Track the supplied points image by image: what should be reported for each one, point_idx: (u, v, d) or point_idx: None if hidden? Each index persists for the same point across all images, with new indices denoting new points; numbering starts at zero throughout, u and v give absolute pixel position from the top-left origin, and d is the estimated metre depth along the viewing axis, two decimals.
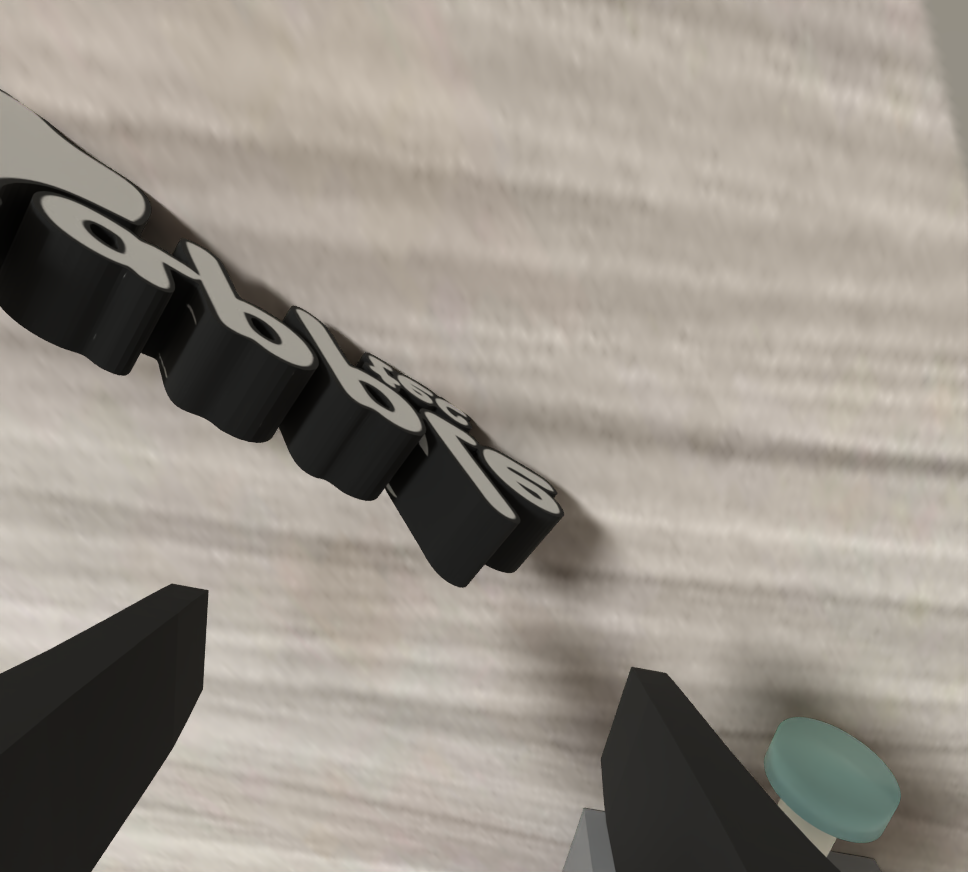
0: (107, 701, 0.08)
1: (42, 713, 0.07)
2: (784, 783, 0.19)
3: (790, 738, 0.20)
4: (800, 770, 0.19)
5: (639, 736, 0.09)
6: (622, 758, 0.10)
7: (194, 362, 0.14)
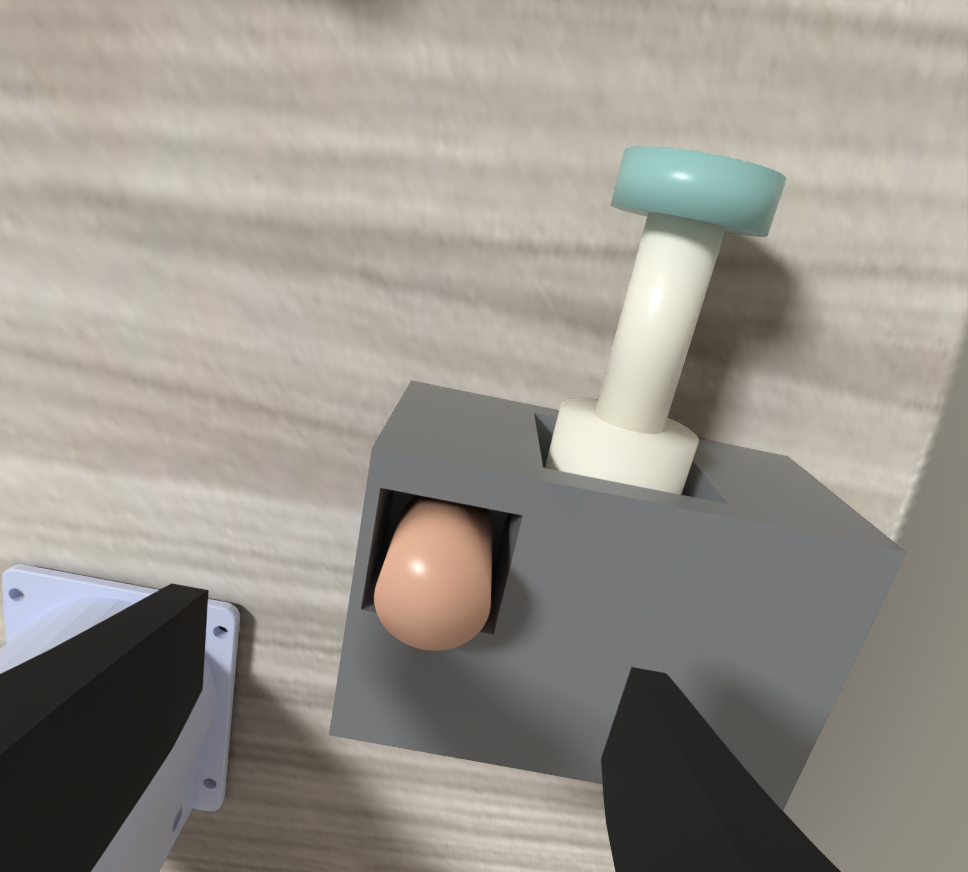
0: (107, 701, 0.08)
1: (42, 713, 0.07)
2: (626, 180, 0.14)
3: None
4: None
5: (639, 736, 0.09)
6: (622, 758, 0.10)
7: None
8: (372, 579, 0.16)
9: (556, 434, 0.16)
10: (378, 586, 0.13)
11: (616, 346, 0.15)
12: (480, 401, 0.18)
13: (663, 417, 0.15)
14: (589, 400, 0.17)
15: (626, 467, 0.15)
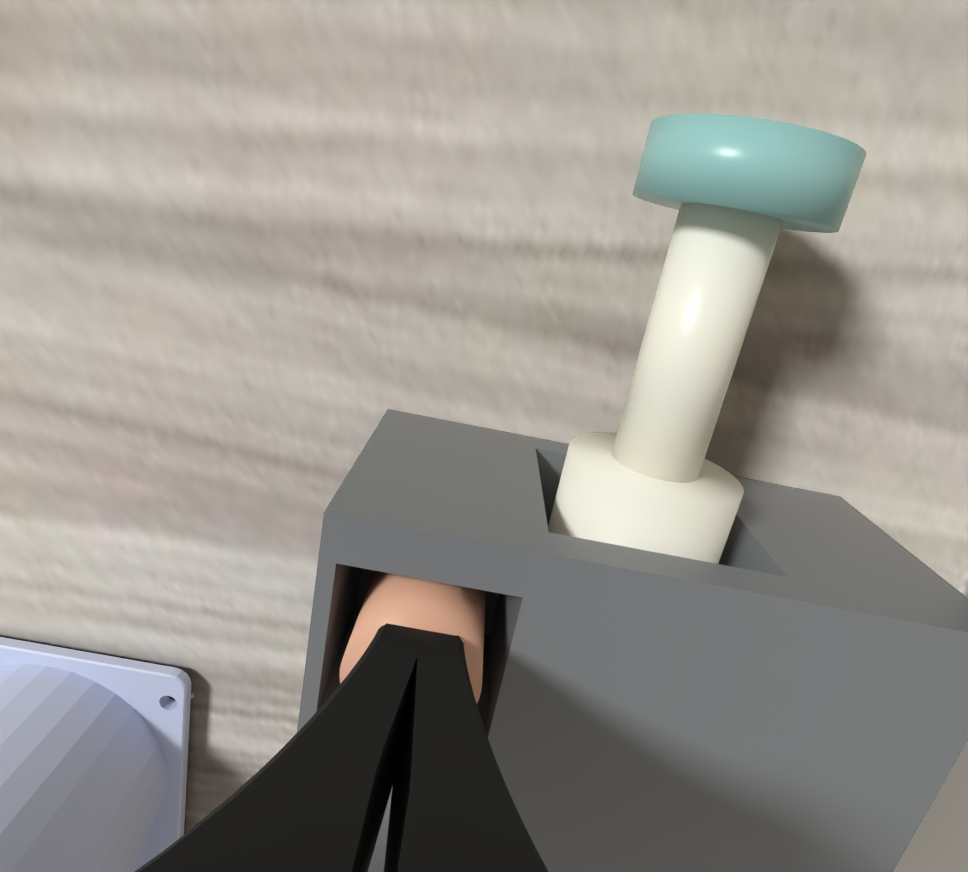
0: (388, 750, 0.08)
1: (369, 769, 0.07)
2: (655, 159, 0.10)
3: None
4: None
5: (410, 695, 0.09)
6: None
7: None
8: (334, 665, 0.13)
9: (564, 481, 0.13)
10: (344, 662, 0.10)
11: (640, 373, 0.12)
12: (470, 435, 0.15)
13: (699, 461, 0.12)
14: (603, 435, 0.14)
15: (654, 528, 0.11)
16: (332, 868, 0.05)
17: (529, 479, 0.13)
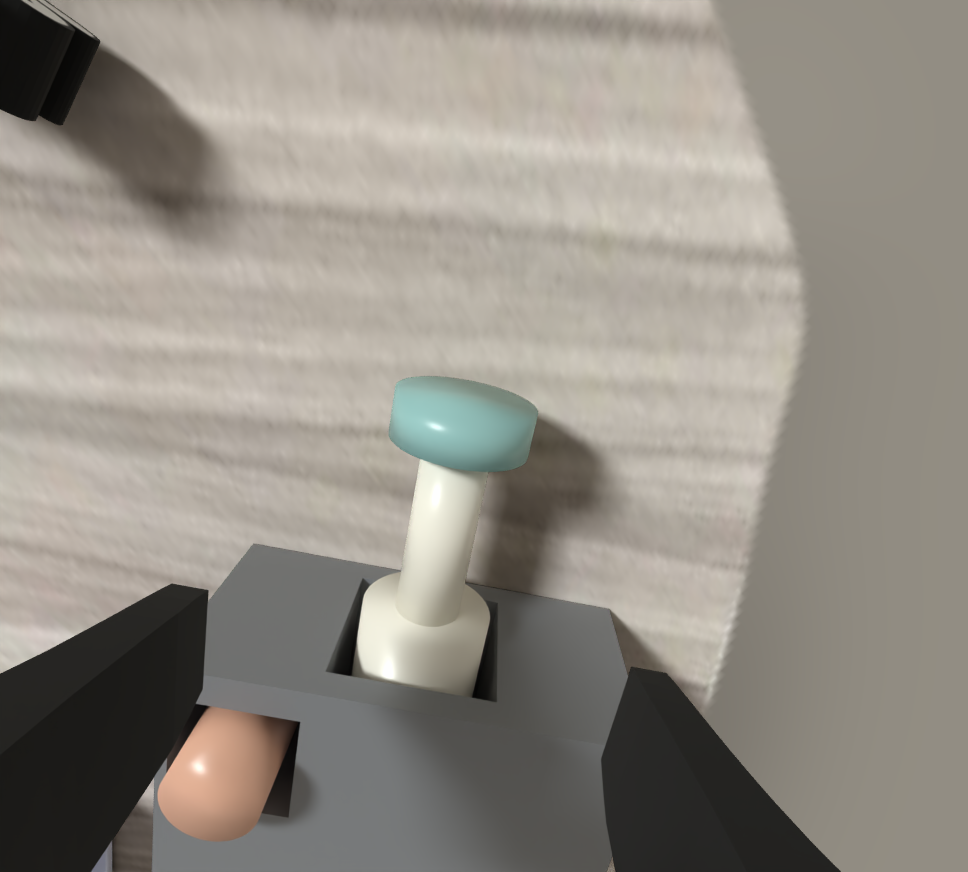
0: (107, 701, 0.08)
1: (42, 713, 0.07)
2: (392, 417, 0.15)
3: (422, 382, 0.16)
4: (405, 393, 0.15)
5: (639, 736, 0.09)
6: (622, 758, 0.10)
7: None
8: None
9: (360, 620, 0.17)
10: (160, 791, 0.14)
11: (405, 547, 0.17)
12: (312, 568, 0.20)
13: (450, 611, 0.17)
14: None
15: (406, 665, 0.16)
16: None
17: (338, 615, 0.18)
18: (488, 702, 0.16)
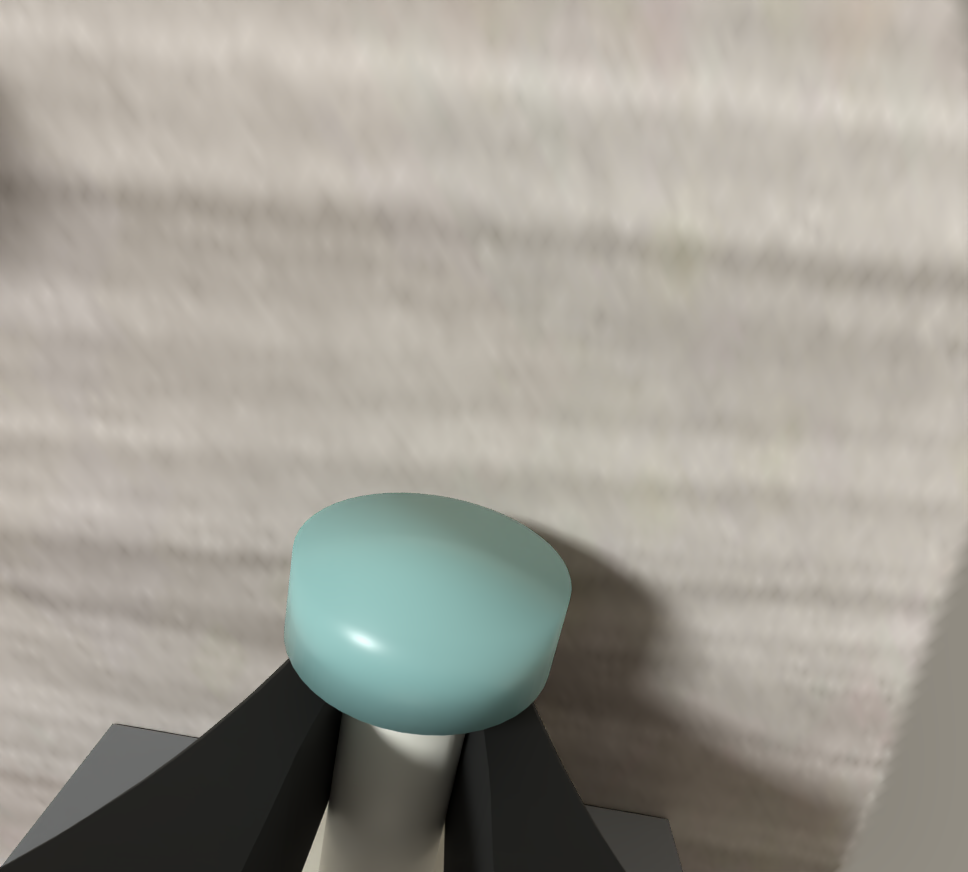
0: (318, 738, 0.08)
1: (288, 755, 0.07)
2: (287, 600, 0.08)
3: (355, 515, 0.09)
4: (310, 560, 0.07)
5: None
6: None
7: None
8: None
9: None
10: None
11: (328, 805, 0.09)
12: None
13: None
14: None
15: None
16: (230, 851, 0.05)
17: None
18: None
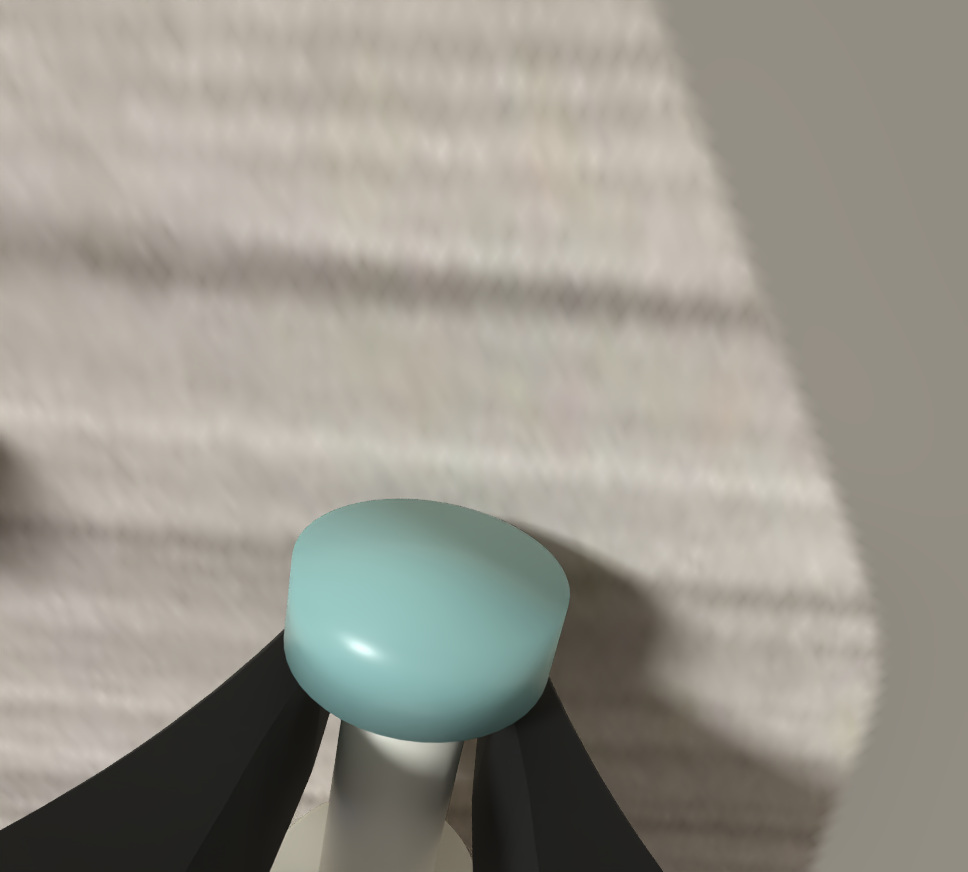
0: (285, 732, 0.08)
1: (249, 749, 0.07)
2: None
3: (354, 522, 0.09)
4: (309, 568, 0.07)
5: None
6: None
7: None
8: None
9: None
10: None
11: (328, 809, 0.09)
12: None
13: None
14: None
15: None
16: (181, 843, 0.05)
17: None
18: None
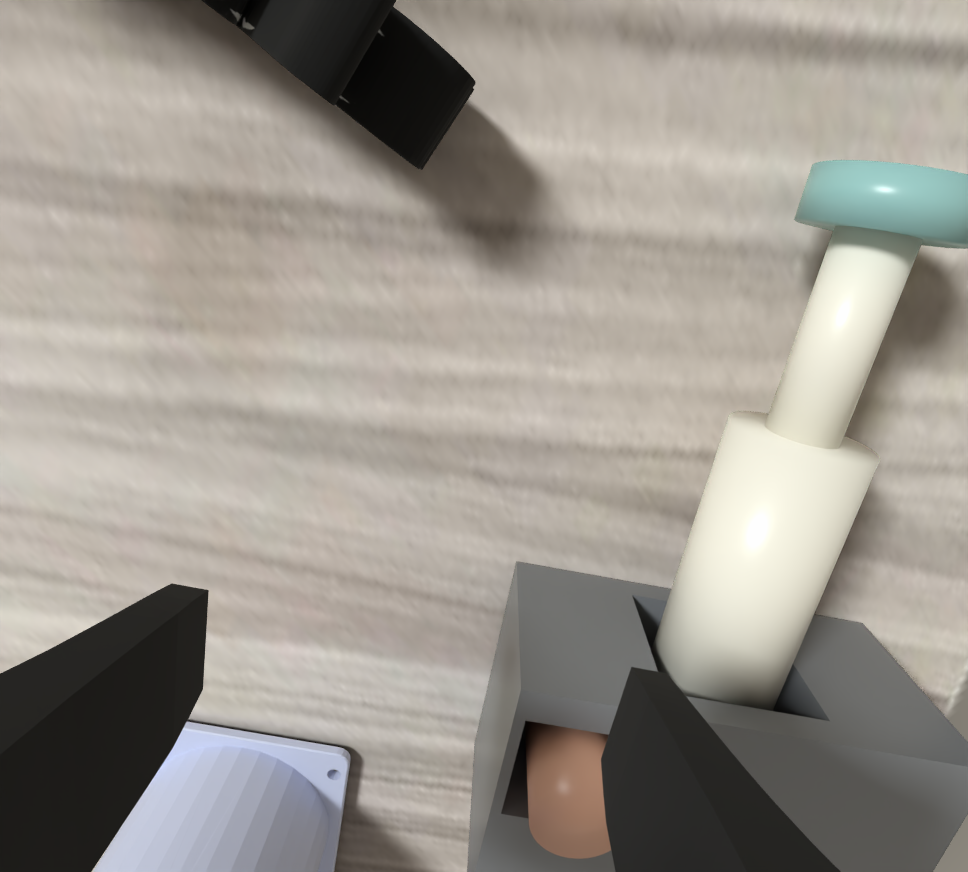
0: (107, 701, 0.08)
1: (42, 713, 0.07)
2: (826, 194, 0.13)
3: None
4: None
5: (639, 736, 0.09)
6: (622, 758, 0.10)
7: None
8: None
9: (729, 450, 0.16)
10: (533, 810, 0.15)
11: (797, 361, 0.15)
12: (583, 585, 0.20)
13: (844, 432, 0.15)
14: (749, 413, 0.17)
15: (816, 484, 0.14)
16: None
17: (637, 634, 0.18)
18: (822, 721, 0.16)
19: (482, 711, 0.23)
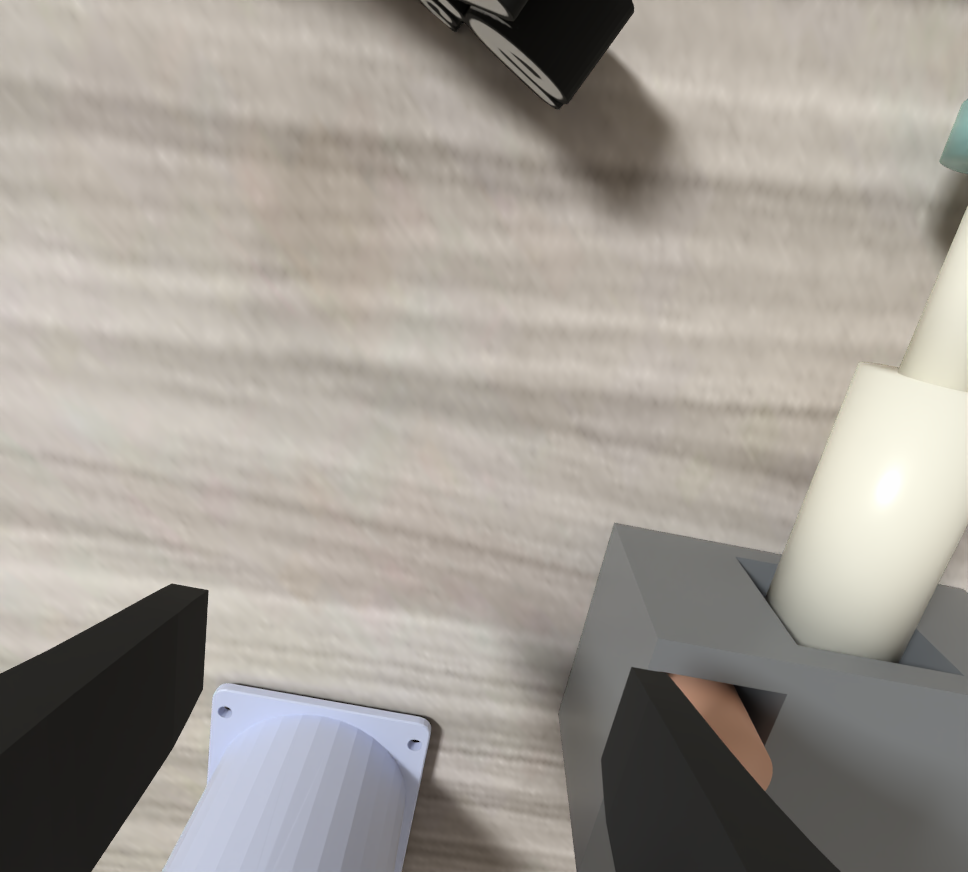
0: (107, 701, 0.08)
1: (42, 713, 0.07)
2: None
3: None
4: None
5: (639, 736, 0.09)
6: (622, 758, 0.10)
7: None
8: None
9: (864, 396, 0.15)
10: None
11: (942, 303, 0.15)
12: (685, 546, 0.20)
13: None
14: (874, 364, 0.17)
15: None
16: None
17: (752, 592, 0.18)
18: (957, 676, 0.16)
19: (569, 679, 0.22)
